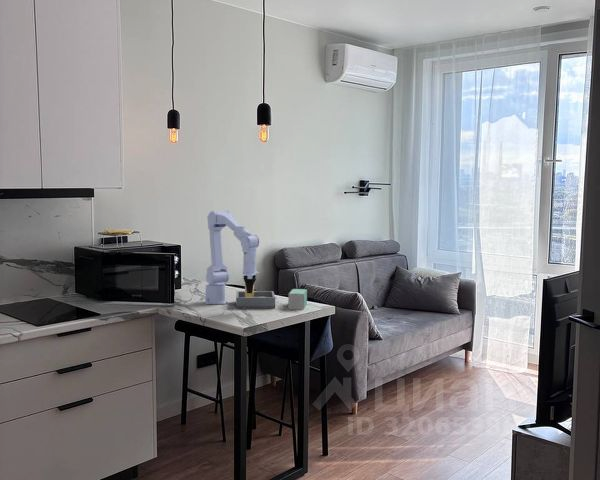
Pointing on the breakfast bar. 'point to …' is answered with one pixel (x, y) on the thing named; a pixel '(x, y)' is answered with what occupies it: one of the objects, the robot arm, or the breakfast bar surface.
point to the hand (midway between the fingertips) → (249, 292)
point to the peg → (249, 293)
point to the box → (297, 299)
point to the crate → (255, 300)
